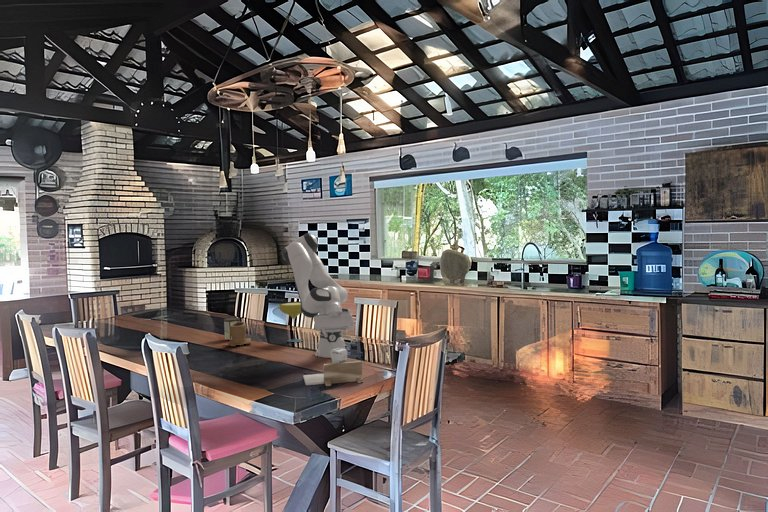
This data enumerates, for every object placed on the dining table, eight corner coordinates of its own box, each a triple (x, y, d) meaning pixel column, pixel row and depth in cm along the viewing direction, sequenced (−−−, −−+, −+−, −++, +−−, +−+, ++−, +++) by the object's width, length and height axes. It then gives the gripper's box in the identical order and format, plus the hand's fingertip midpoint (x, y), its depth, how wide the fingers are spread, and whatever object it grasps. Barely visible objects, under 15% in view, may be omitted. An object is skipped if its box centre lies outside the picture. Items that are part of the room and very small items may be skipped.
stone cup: (231, 348, 323) (230, 324, 322) (226, 345, 333) (225, 322, 333) (255, 345, 331) (254, 322, 330) (249, 342, 341) (248, 319, 340)
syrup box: (339, 376, 254) (338, 347, 254) (348, 378, 251) (347, 349, 250) (330, 379, 250) (330, 349, 249) (339, 381, 246) (338, 351, 245)
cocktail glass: (284, 338, 349) (282, 301, 348) (310, 338, 349) (309, 301, 348) (277, 344, 331) (276, 305, 330) (305, 344, 331) (304, 305, 329)
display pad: (303, 377, 255) (303, 375, 255) (323, 375, 258) (323, 373, 257) (305, 385, 242) (305, 383, 242) (327, 383, 244) (327, 381, 244)
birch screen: (323, 383, 244) (323, 364, 244) (361, 379, 249) (361, 361, 248) (325, 386, 240) (324, 366, 239) (363, 382, 244) (363, 363, 244)
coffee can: (233, 337, 358) (232, 317, 358) (243, 338, 353) (242, 318, 352) (221, 340, 350) (220, 319, 349) (231, 341, 344) (231, 320, 343)
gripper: (313, 311, 267) (314, 333, 258) (352, 309, 271) (355, 331, 261) (313, 318, 272) (314, 340, 262) (352, 316, 275) (355, 338, 266)
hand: (335, 336), depth 262 cm, fingers open, 8 cm apart
